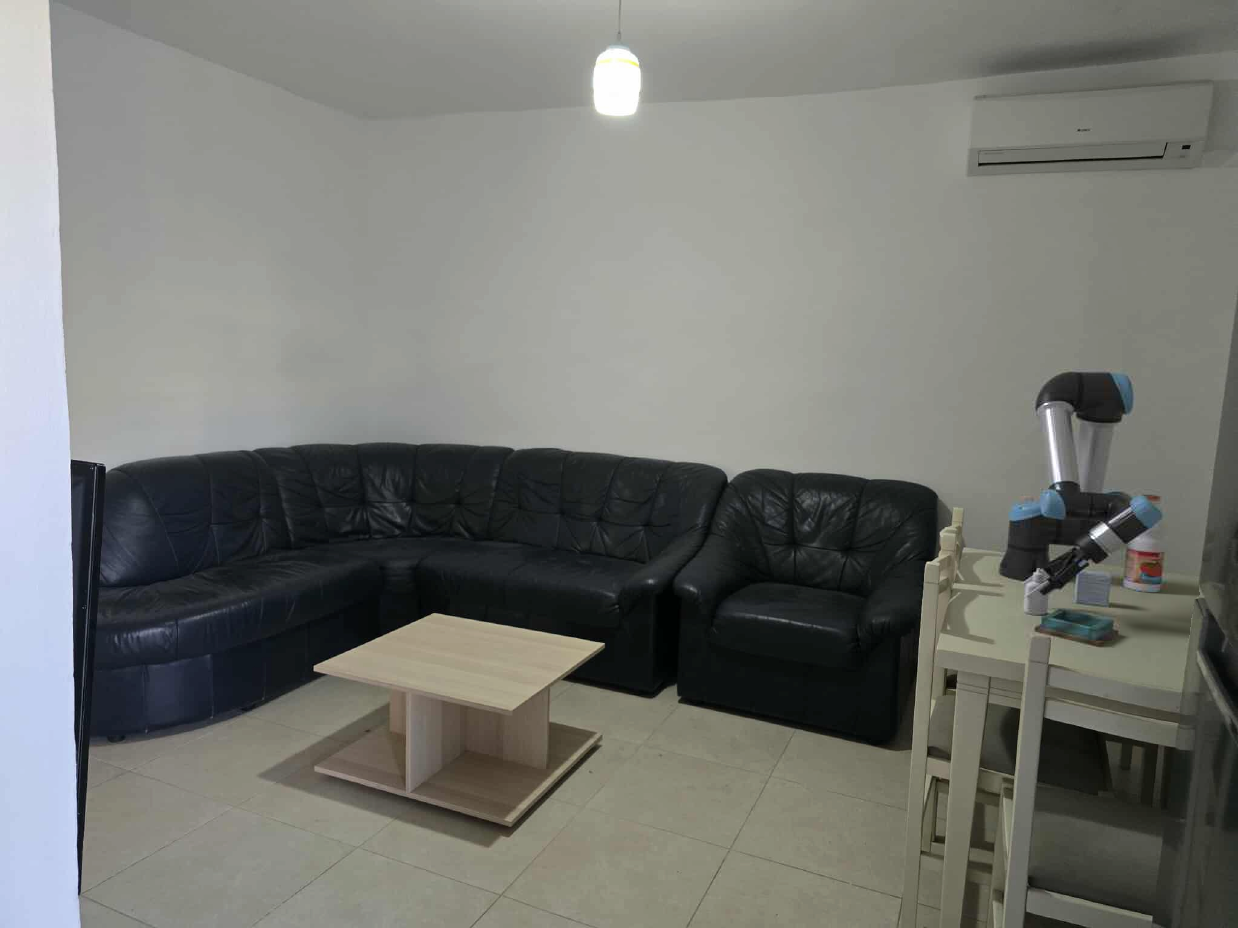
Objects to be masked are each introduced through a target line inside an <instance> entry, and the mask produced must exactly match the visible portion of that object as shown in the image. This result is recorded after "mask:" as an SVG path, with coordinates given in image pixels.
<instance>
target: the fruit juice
mask: <svg viewBox="0 0 1238 928" xmlns="http://www.w3.org/2000/svg"><path fill="white" fill-rule="evenodd" d="M1141 495H1142V496H1145V497H1146V498H1147V499H1148V500H1149V501H1151V502H1152V503H1153V504H1154V505H1155V506H1156V507H1157V508H1158V509H1159V510H1160V503H1161V501H1162V500H1161V499H1162V497H1161V496H1160V495H1156V494H1155V495H1154V494H1141ZM1160 511H1161V510H1160ZM1166 531H1167V522H1166V520H1165V519H1164V517H1163V518H1162V519H1161V520H1160V521H1159V522H1157V523H1156V524H1155V525H1154V526H1153V527H1152V528H1149V529H1148V530H1146V531H1145V532H1144V533H1142V534H1141V535H1139V536H1138V537H1136V538H1135V539H1133V540H1132V541H1130V542H1129V543H1127V544H1126V550H1125V551H1126V552H1125V560H1124V570H1123V578H1122V579H1123V582H1122V584H1123V587H1124V588H1126V589H1128V590H1132V591H1137V592H1141V593H1142V592H1143V593H1158V592H1160V590H1161V586H1162V579H1163V578H1162V577H1163V569H1164V560H1165V558H1164V557H1165V551H1166V542H1165V539H1164V537H1165V534H1166Z"/></svg>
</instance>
